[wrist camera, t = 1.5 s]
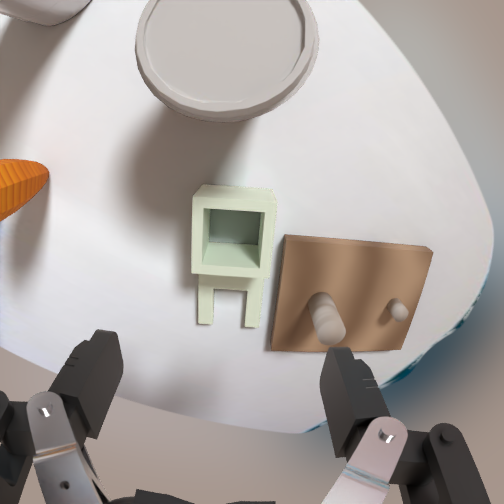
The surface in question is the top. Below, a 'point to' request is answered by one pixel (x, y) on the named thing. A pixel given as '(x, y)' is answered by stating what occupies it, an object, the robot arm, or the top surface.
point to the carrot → (19, 183)
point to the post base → (346, 294)
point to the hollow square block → (231, 249)
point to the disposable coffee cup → (226, 55)
